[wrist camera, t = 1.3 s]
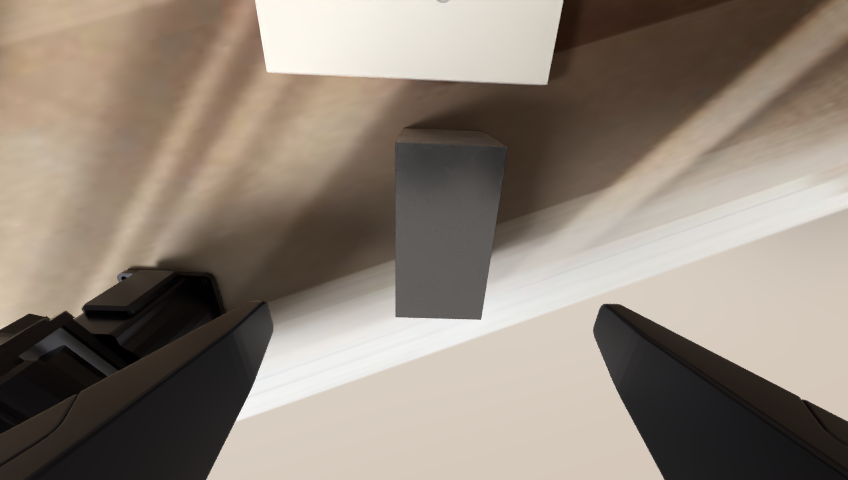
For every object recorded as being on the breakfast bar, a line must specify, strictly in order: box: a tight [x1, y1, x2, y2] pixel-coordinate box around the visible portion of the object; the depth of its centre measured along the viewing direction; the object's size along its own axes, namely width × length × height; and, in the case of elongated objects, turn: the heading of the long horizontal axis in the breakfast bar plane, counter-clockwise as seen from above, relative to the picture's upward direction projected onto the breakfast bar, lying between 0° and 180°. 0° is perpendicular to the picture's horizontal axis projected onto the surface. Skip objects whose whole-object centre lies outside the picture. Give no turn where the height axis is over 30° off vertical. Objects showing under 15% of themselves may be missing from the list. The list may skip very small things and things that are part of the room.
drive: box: [396, 128, 508, 320], centre depth 17 cm, size 9×5×6 cm, turn 178°
